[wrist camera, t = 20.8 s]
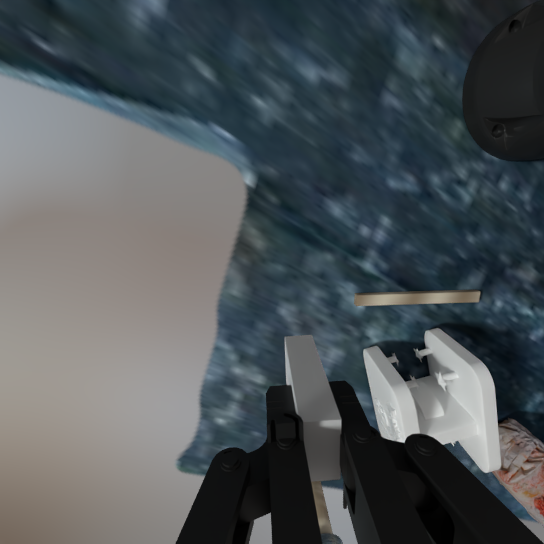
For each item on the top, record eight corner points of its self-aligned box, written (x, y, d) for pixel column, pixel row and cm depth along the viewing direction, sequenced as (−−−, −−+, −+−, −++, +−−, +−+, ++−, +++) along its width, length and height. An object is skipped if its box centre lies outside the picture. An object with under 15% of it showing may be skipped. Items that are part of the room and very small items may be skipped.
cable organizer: (444, 411, 47) (505, 483, 36) (374, 430, 47) (412, 508, 36) (432, 320, 43) (496, 369, 32) (354, 341, 43) (391, 398, 32)
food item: (459, 437, 49) (510, 499, 39) (503, 405, 47) (567, 460, 38) (505, 486, 52) (562, 554, 42) (547, 457, 51) (616, 520, 41)
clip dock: (476, 289, 42) (570, 334, 30) (449, 446, 49) (516, 536, 36) (288, 295, 41) (304, 345, 28) (287, 456, 47) (300, 553, 35)
